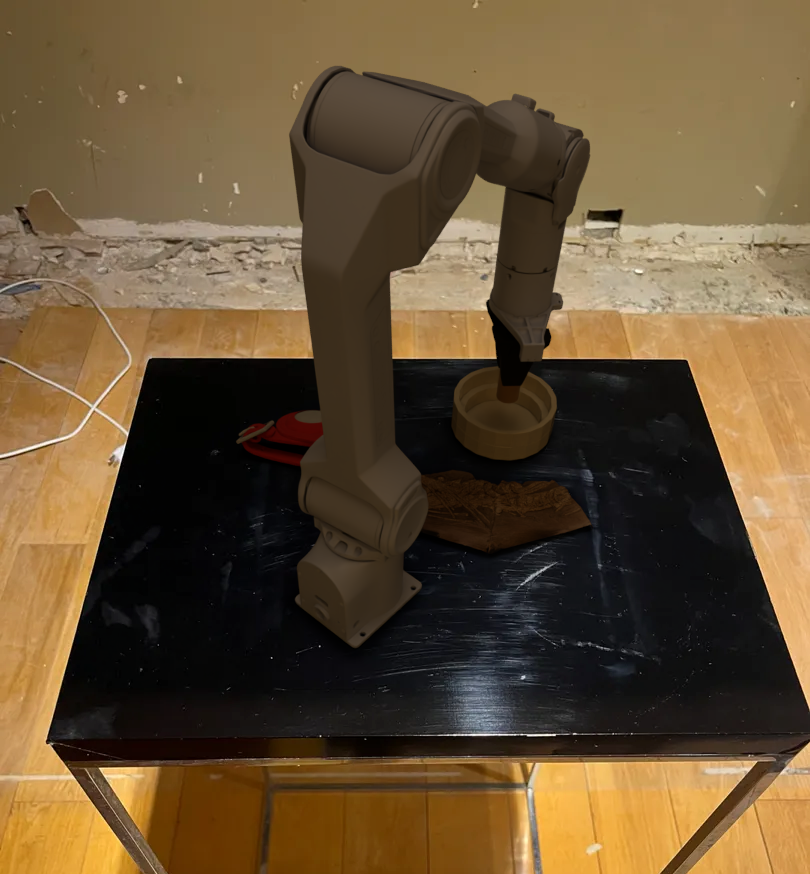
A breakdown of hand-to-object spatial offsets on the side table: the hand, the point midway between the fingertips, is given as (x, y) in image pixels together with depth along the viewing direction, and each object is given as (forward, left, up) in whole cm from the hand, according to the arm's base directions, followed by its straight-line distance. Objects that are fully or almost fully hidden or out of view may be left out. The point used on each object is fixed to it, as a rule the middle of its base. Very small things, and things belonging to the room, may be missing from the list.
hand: (509, 375), depth 86 cm
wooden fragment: (-12, -4, -8) cm, 16 cm away
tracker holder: (-16, +16, -9) cm, 24 cm away
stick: (0, 0, -3) cm, 3 cm away
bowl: (+1, +1, -8) cm, 8 cm away
